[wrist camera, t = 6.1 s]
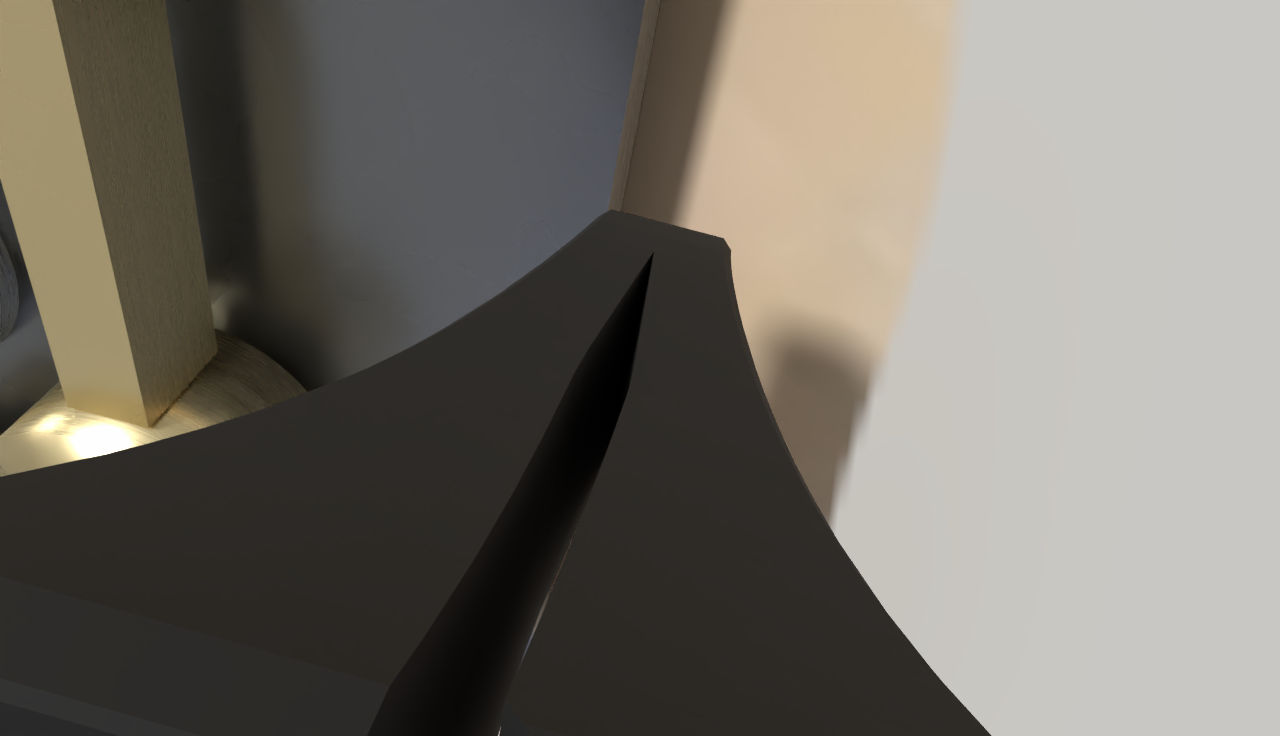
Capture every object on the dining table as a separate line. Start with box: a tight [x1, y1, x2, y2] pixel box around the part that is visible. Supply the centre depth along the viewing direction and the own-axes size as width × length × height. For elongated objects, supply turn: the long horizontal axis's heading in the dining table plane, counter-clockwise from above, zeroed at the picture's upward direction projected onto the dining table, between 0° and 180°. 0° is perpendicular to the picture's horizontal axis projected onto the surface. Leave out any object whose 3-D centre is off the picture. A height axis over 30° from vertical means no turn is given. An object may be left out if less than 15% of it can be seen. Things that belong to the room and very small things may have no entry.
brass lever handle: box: [0, 0, 307, 477], centre depth 13 cm, size 11×4×3 cm, turn 170°
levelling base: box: [0, 0, 661, 663], centre depth 13 cm, size 18×16×7 cm
